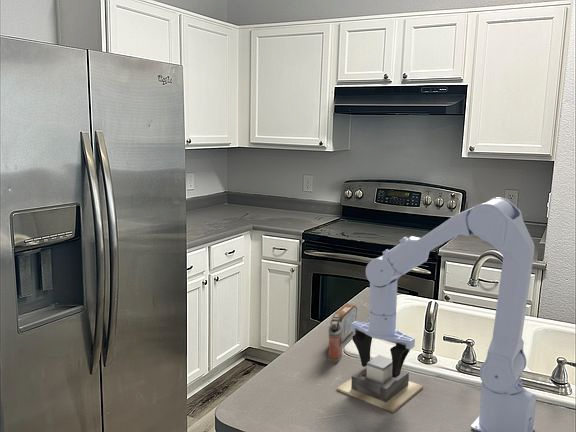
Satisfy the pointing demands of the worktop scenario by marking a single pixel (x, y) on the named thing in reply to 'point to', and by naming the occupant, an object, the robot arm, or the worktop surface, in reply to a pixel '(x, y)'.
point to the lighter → (335, 340)
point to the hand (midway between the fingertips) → (380, 370)
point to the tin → (346, 318)
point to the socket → (381, 390)
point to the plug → (380, 369)
